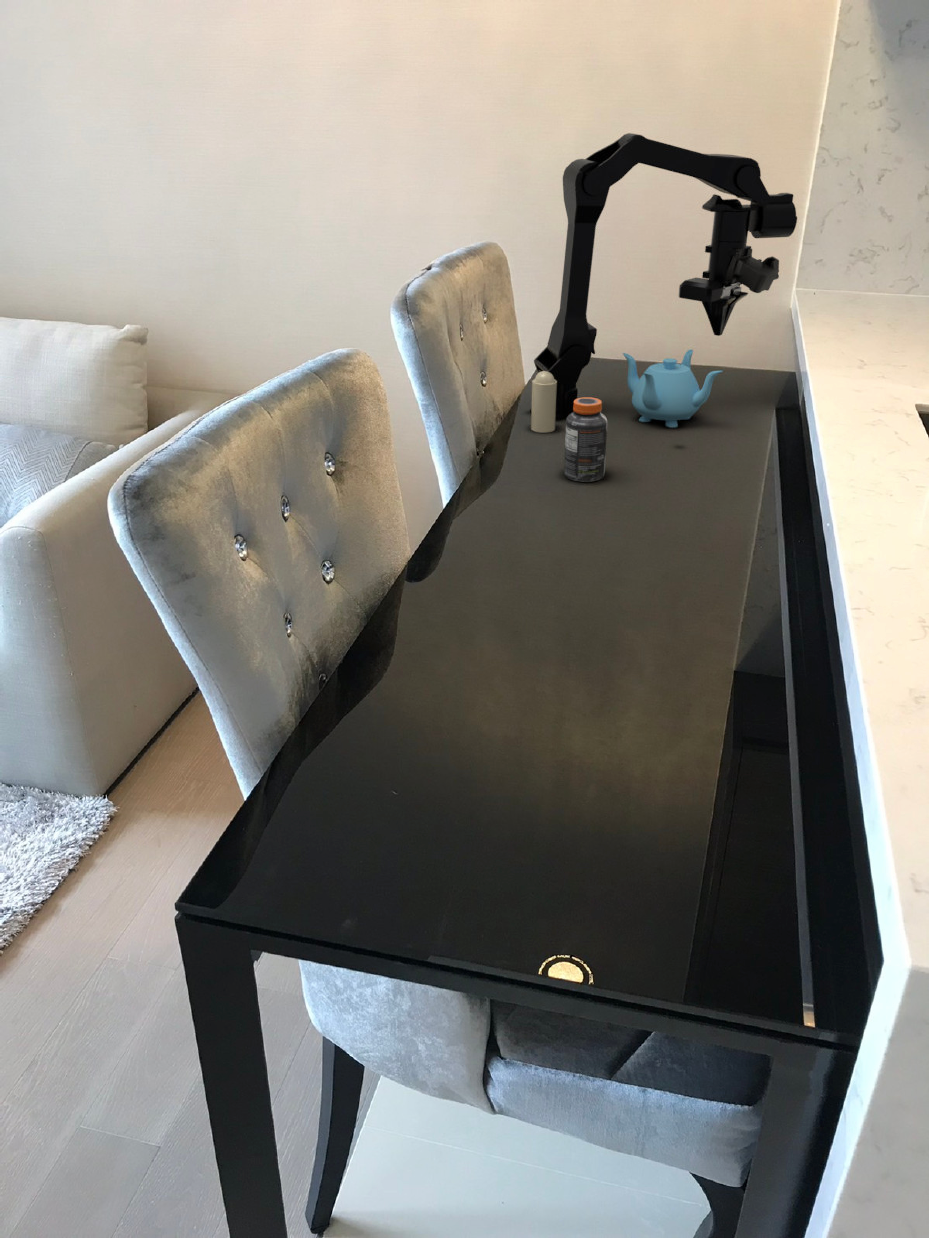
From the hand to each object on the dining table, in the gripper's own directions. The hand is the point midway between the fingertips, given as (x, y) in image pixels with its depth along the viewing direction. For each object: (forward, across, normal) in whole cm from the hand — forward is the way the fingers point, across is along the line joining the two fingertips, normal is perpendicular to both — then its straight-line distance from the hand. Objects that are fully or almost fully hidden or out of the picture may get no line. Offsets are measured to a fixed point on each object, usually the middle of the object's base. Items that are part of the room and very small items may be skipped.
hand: (717, 335), depth 172 cm
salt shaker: (+12, -32, +12) cm, 36 cm away
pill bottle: (+12, -44, -6) cm, 46 cm away
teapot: (+12, -14, 0) cm, 18 cm away
